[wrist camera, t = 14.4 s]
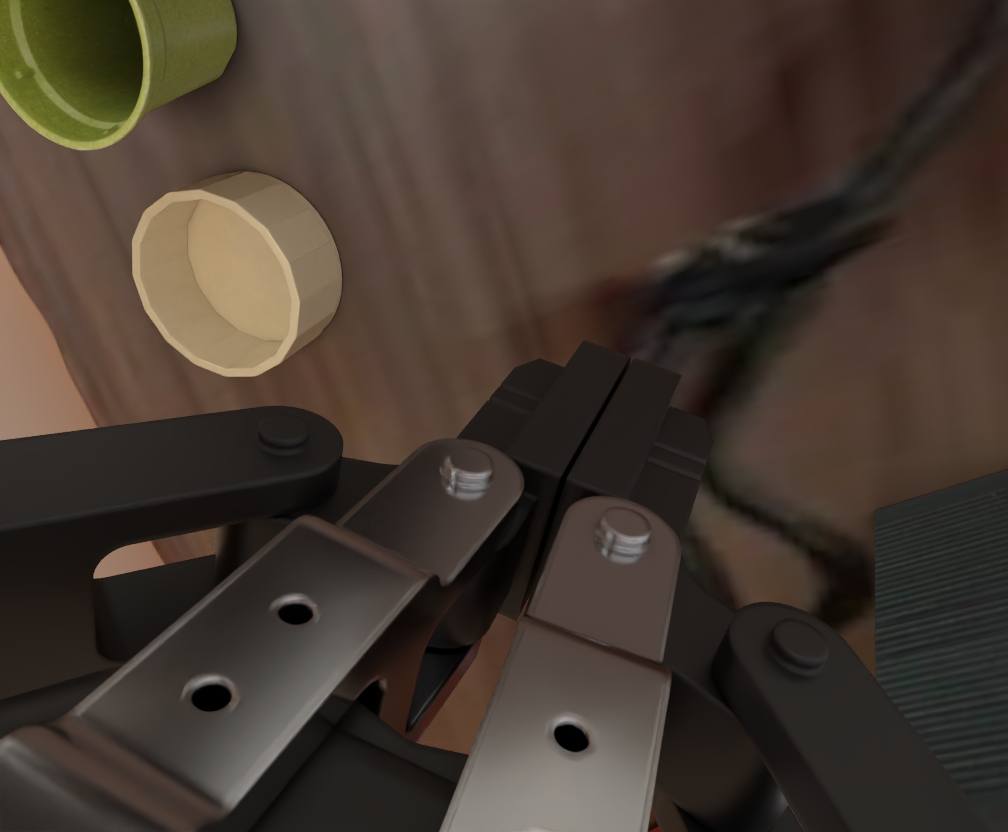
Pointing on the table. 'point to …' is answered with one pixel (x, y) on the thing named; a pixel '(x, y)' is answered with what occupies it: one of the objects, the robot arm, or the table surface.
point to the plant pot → (107, 61)
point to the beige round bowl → (236, 272)
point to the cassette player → (949, 630)
